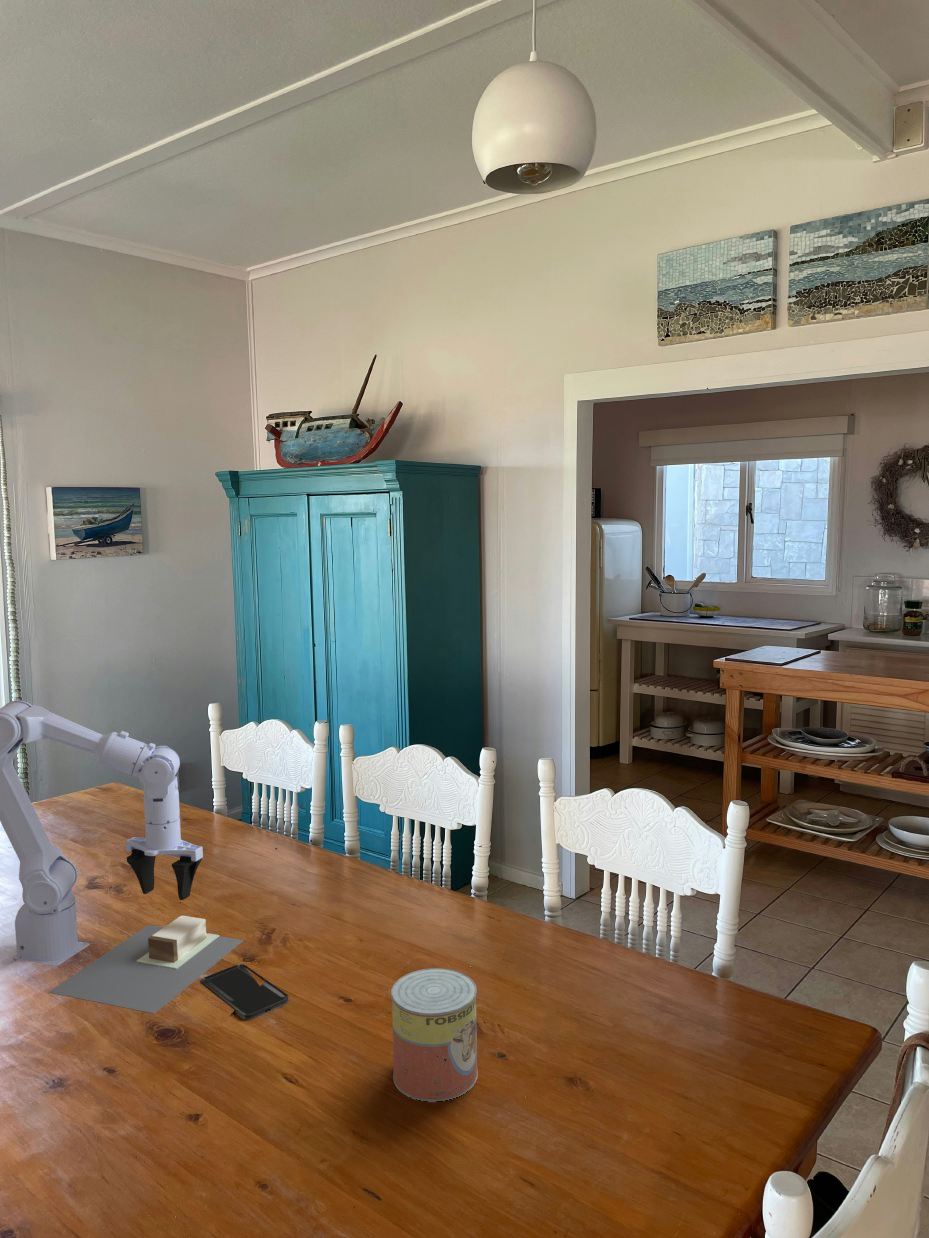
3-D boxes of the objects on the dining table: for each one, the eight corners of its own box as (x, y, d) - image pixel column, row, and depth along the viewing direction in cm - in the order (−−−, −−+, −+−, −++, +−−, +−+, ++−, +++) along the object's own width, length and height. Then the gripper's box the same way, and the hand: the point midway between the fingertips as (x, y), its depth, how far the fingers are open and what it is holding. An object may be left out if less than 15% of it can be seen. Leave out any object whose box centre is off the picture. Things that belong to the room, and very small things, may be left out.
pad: (176, 969, 146) (176, 968, 146) (136, 961, 148) (136, 960, 148) (219, 936, 157) (219, 935, 157) (181, 929, 160) (181, 928, 160)
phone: (241, 962, 148) (291, 996, 137) (242, 968, 148) (291, 1003, 137) (197, 979, 142) (245, 1017, 131) (198, 986, 142) (245, 1024, 131)
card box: (182, 934, 158) (181, 915, 157) (206, 938, 156) (205, 919, 156) (149, 958, 149) (147, 938, 149) (174, 962, 148) (173, 942, 147)
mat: (48, 995, 139) (48, 991, 139) (149, 927, 162) (148, 924, 162) (154, 1017, 133) (154, 1013, 133) (243, 943, 156) (243, 940, 155)
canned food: (447, 1113, 111) (446, 1023, 109) (376, 1083, 117) (373, 997, 115) (493, 1065, 120) (492, 981, 119) (424, 1040, 126) (423, 960, 125)
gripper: (111, 822, 151) (116, 898, 153) (182, 831, 146) (186, 910, 148) (139, 809, 158) (143, 882, 159) (208, 817, 153) (212, 893, 155)
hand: (166, 894), depth 154 cm, fingers open, 7 cm apart
